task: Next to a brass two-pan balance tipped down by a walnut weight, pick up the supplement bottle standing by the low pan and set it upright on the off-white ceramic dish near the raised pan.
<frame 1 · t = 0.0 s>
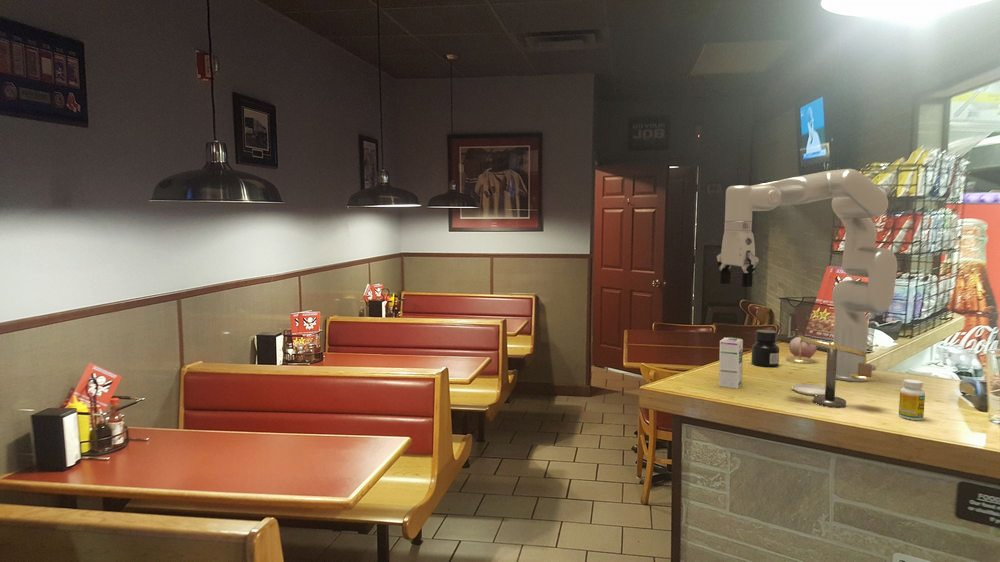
hand: (735, 285, 183), 31 cm above the counter, tool pointing down, fingers open, 9 cm apart
supplement bottle: (910, 418, 158), on the counter
decorative fruit: (801, 361, 224), on the counter
balance: (829, 403, 170), on the counter
ink bottle: (764, 365, 218), on the counter
dish: (812, 391, 182), on the counter
syrup box: (730, 386, 189), on the counter
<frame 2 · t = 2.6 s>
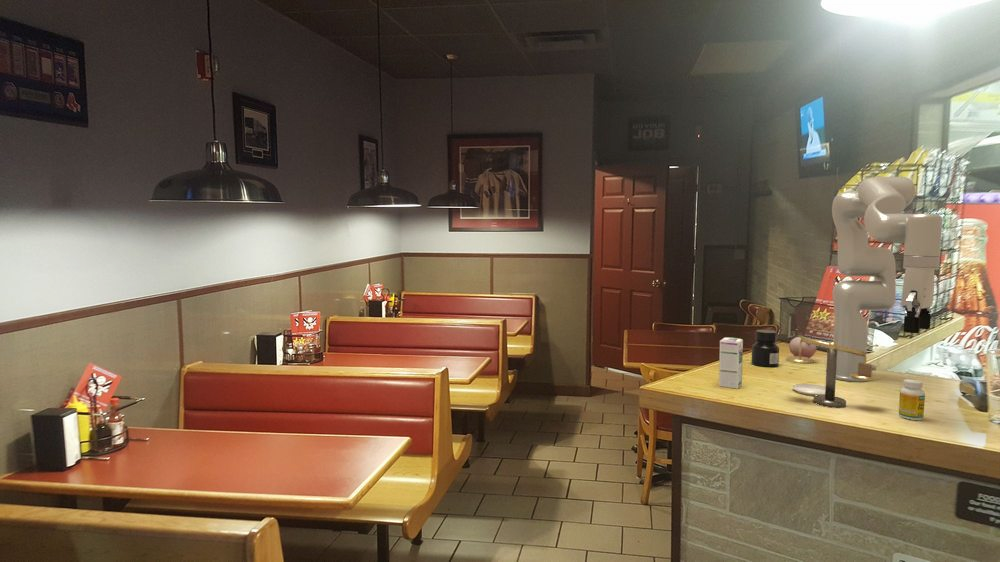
hand: (916, 330, 155), 23 cm above the counter, tool pointing down, fingers open, 9 cm apart
nothing on the counter moved.
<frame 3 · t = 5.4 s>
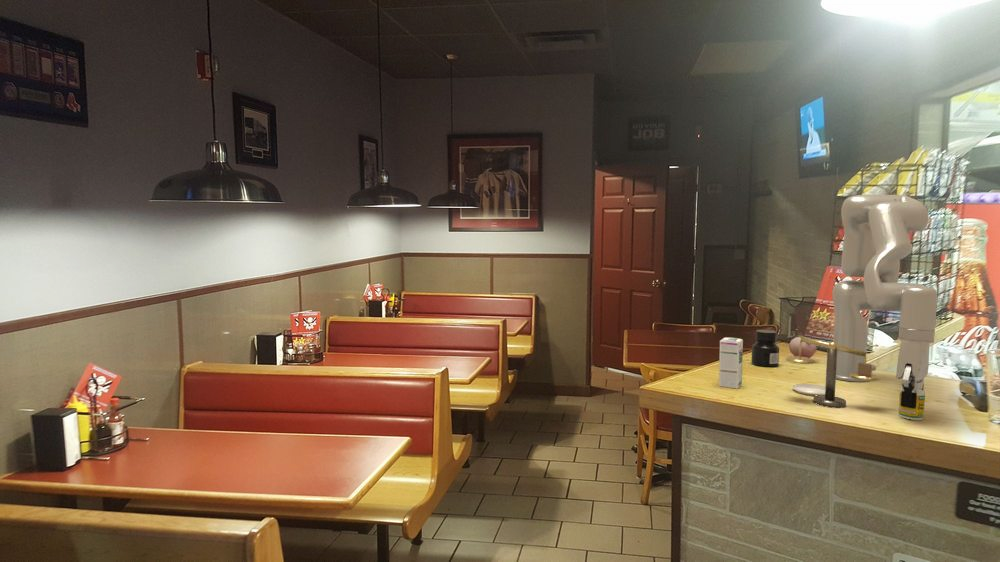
hand: (911, 404, 157), 4 cm above the counter, tool pointing down, fingers closed on supplement bottle, 5 cm apart
supplement bottle: (910, 418, 158), on the counter, touching gripper
everything else where it was.
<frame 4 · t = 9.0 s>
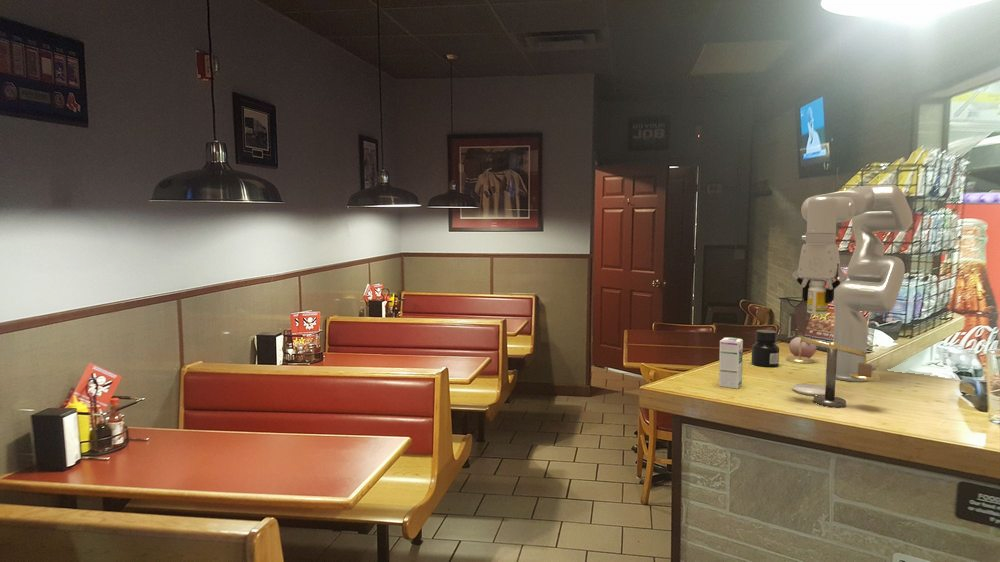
hand: (817, 301, 179), 27 cm above the counter, tool pointing down, fingers closed on supplement bottle, 5 cm apart
supplement bottle: (816, 313, 180), point 23 cm above the counter, touching gripper
everything else where it was.
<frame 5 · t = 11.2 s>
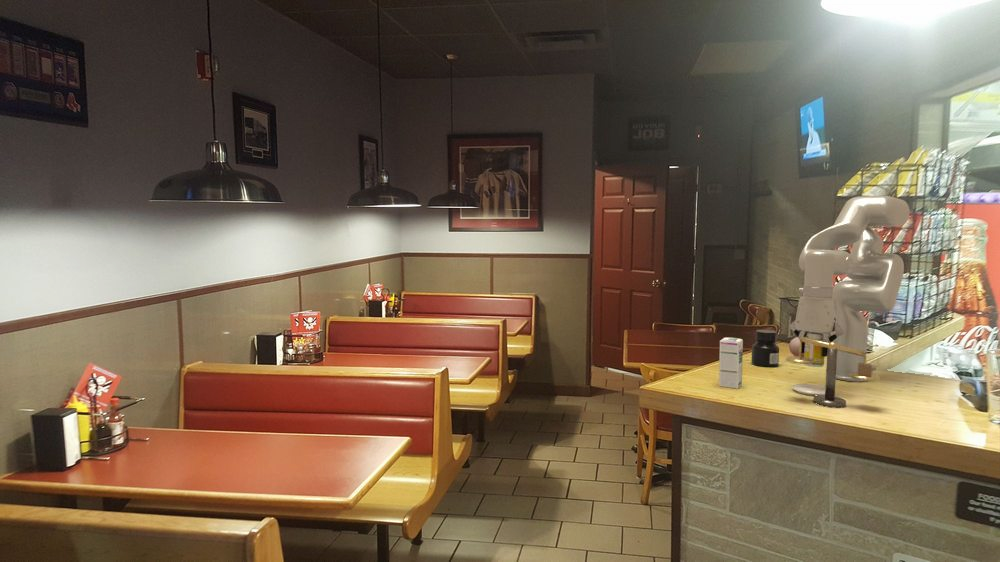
hand: (814, 353, 181), 12 cm above the counter, tool pointing down, fingers closed on supplement bottle, 5 cm apart
supplement bottle: (813, 366, 181), point 8 cm above the counter, touching gripper
everything else where it was.
when the fingers open (5 cm above the counter, at t = 13.1 s): supplement bottle stays where it is, resting on dish.
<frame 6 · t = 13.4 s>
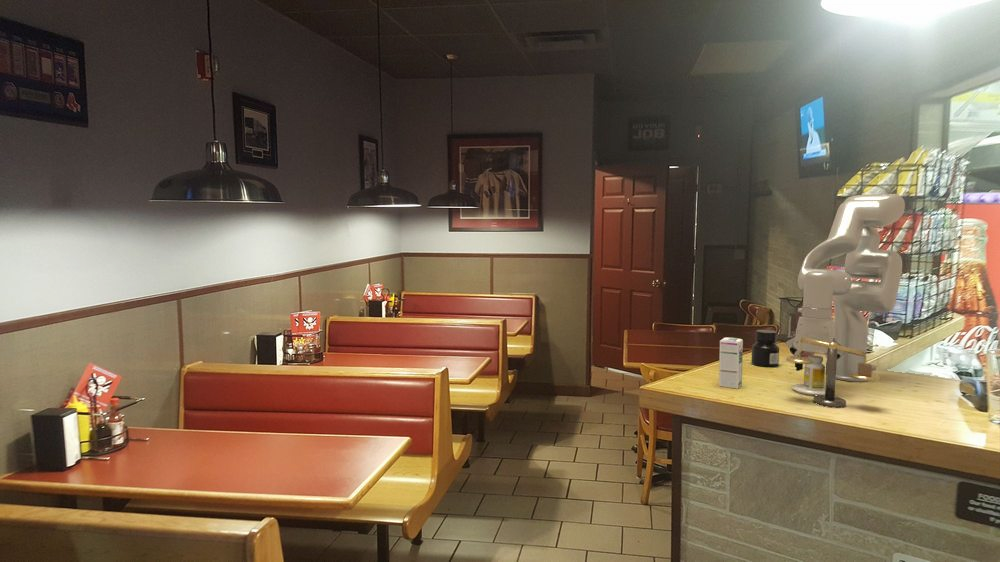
hand: (813, 372, 181), 6 cm above the counter, tool pointing down, fingers open, 7 cm apart
supplement bottle: (813, 389, 182), point 1 cm above the counter, touching dish
everything else where it was.
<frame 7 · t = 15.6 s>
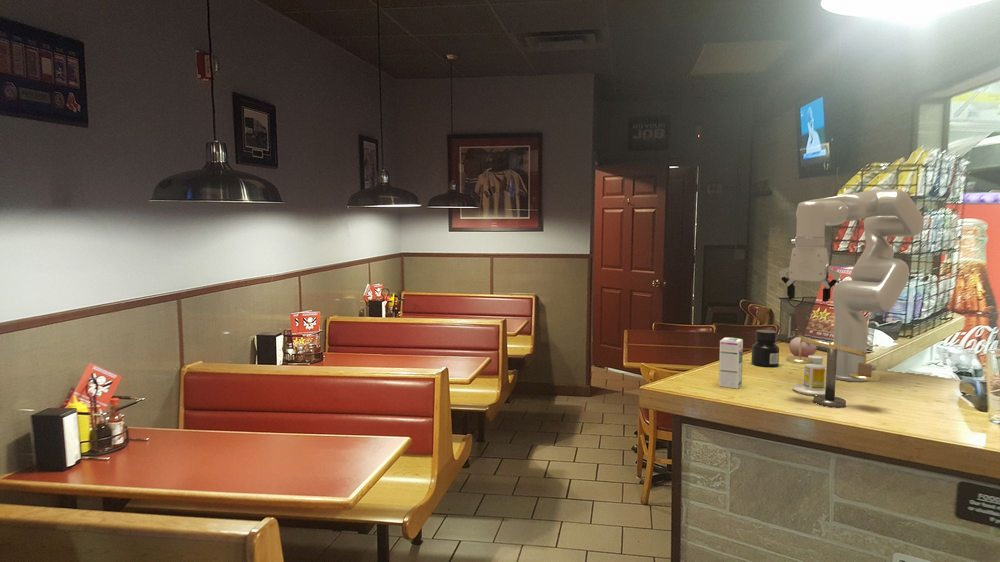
hand: (808, 300, 185), 27 cm above the counter, tool pointing down, fingers open, 9 cm apart
nothing on the counter moved.
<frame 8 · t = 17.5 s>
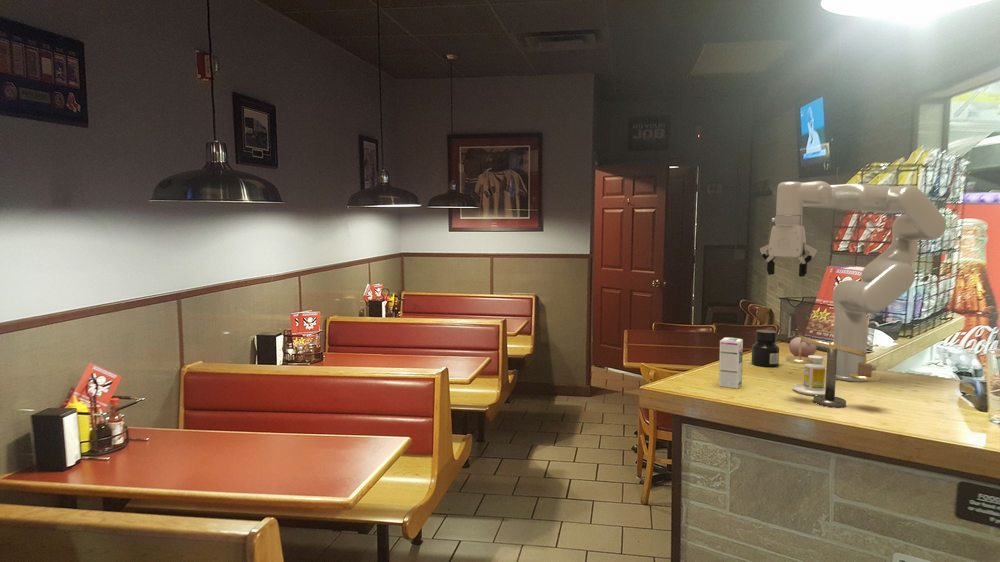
hand: (786, 275, 195), 33 cm above the counter, tool pointing down, fingers open, 9 cm apart
nothing on the counter moved.
at the end: supplement bottle inside the target area on the dish (0.2 cm from its centre), point 0.8 cm above the dish's base; supplement bottle tilted 0°; the gripper is holding nothing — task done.
